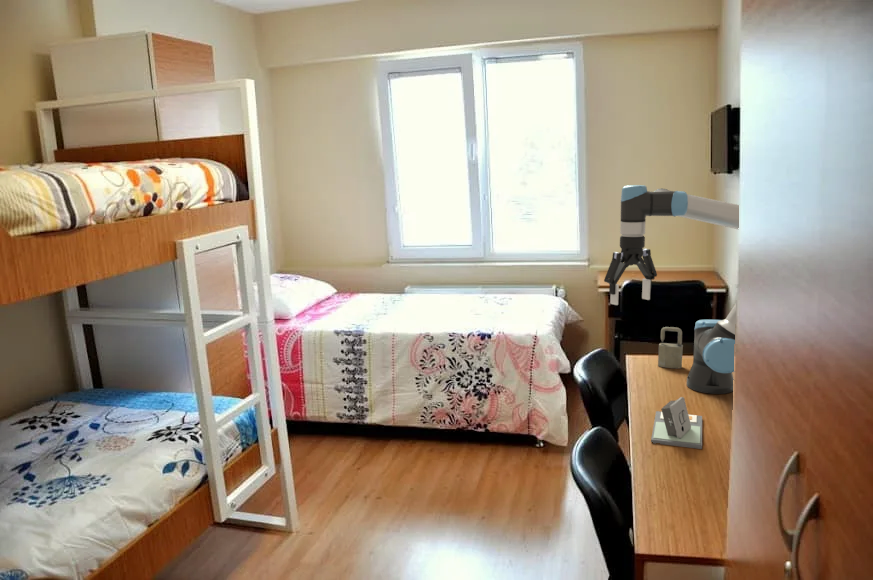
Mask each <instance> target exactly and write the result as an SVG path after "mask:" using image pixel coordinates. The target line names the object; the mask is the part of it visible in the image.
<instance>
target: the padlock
mask: <svg viewBox="0 0 873 580" xmlns="http://www.w3.org/2000/svg"><path fill="white" fill-rule="evenodd" d="M666 332H677V343H667V342H664V340H665V338H666ZM660 340H661V342H660V343H659V344H658V356H657V358H658V359H657V367H661V368H669V369H682V367H683V366H682V365H683V347H684V345H683V344H682V343H683V331H682V329H681V328H679V327H674V326H670V327H669V326H665V327H664V326H663V327H662V328H661V330H660Z"/></svg>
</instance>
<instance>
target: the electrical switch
mask: <svg viewBox="0 0 873 580" xmlns="http://www.w3.org/2000/svg"><path fill="white" fill-rule="evenodd" d="M661 412H662V414H663V418H664V422H665V426H666V430H667V434H668V435H673V436H675V435H676V436H677V438H682V437H683V436H684V435H685V434H686V433H687V432H688V431H689V430H690V429H691V423H690V419H689V415H690V414H689V411H688V408H687V405H686V401H685V397H684V396H680V397H679V398H677V399H676V400H669V402H667V403H666V404H665V405H664V406H663V407H661ZM688 414H689V415H688ZM669 421H670V422H669Z"/></svg>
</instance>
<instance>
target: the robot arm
mask: <svg viewBox="0 0 873 580" xmlns="http://www.w3.org/2000/svg"><path fill="white" fill-rule="evenodd" d="M739 205H740V204H737V203H730V202H727V201H722V200H717V199H712V198H707V197H703V196H698V195H694V194H693V195H692V194H687V192H686V191H683V190H682V191H680V190H670V189H666V188H658V189H656V190H654V191H650V190H649V191H648V187H647V186H646V185H645V184H642V185H641V184H632V185H631V184H628V185H624V186H622V188H621V196H620V227H619V228H620V229H619V230H620V231H619V234H620V236H619V248H621V250H620V252H617V251H613V252H612V258H611V262H610V263H609V267H608V269H607V272H606V274H605V277H604V280H603V281H604V283H606V284H609V288H608V289H609V295H610V299H609V301H610V305H614V306H618V305H619V292H620V291H619V290H620V289H619V287H620V284H618V282H619V280H620V279H621V277H622V276H623V274H624V272H625V270H626V269H627V268H629V266H633V265H635V266H637V268H638V269H639V271H640V273H641V274H642V276H643V277H644V278H642V284H641V285H642V287H641V288H642V290H641V291H642V292H641V299H642V300H647V301H650V300H651V290H652V282H653V280H655V278H656V277H657V276H658V273H657V270H656V267H655V264H654V261H653V258H652V255H651V254H652V252H651V249H650V248H645V247H646V246H645V245H646V236H645V234H646V220H647V219H646V217H680V218H685V219H689V220H694V221H698V222H703V223H708V224H712V225H717V226H721V227H725V228H730V229H736V230H739V229H738V228H739ZM735 324H736V303H735V304H734V305H733V307H732V309H731V310H730V312H729V313H728V314H727V316H726V318H725V319H699V320H697V321H696V322H695V326H694V338H693V339H694V341H693V342H694V343H693V344H694V345H693V356H692V357H693V358H692V361H693V362H692V365H691V367H690V370H689V371H688V375H687V377H686V387H688V388H689V389H691V390H693V391H696V392H699V393H705V394H711V395H712V394H713V395H721V394H724V395H726V394H729V393H733V392H734V391H733V380H734V381H735V379H734V375H733V373H735V371H734V344H735Z"/></svg>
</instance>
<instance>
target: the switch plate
mask: <svg viewBox="0 0 873 580" xmlns="http://www.w3.org/2000/svg"><path fill="white" fill-rule="evenodd" d="M688 415H689V419H690V423H691V429H690V430H689V431H688V432H687V433H686V434H685V435H684V436H683V437H682V438H677V436H676V435H675V436H673V435H668V434H667V430H666V426H665V422H664V418H663V414H662V411H659V410H656V411H655V416H654V420H653V421H654V422H653V426H652V434H651V438H650V439H651V440H650V443H651V442H653V443H652V444H656V443H660V444H659V445H666V446H673V447H674V446H675V447H682V448H689V449H690V448H691V449H699V450H703V415H696V414H689V413H688ZM669 422H670V421H669Z"/></svg>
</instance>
